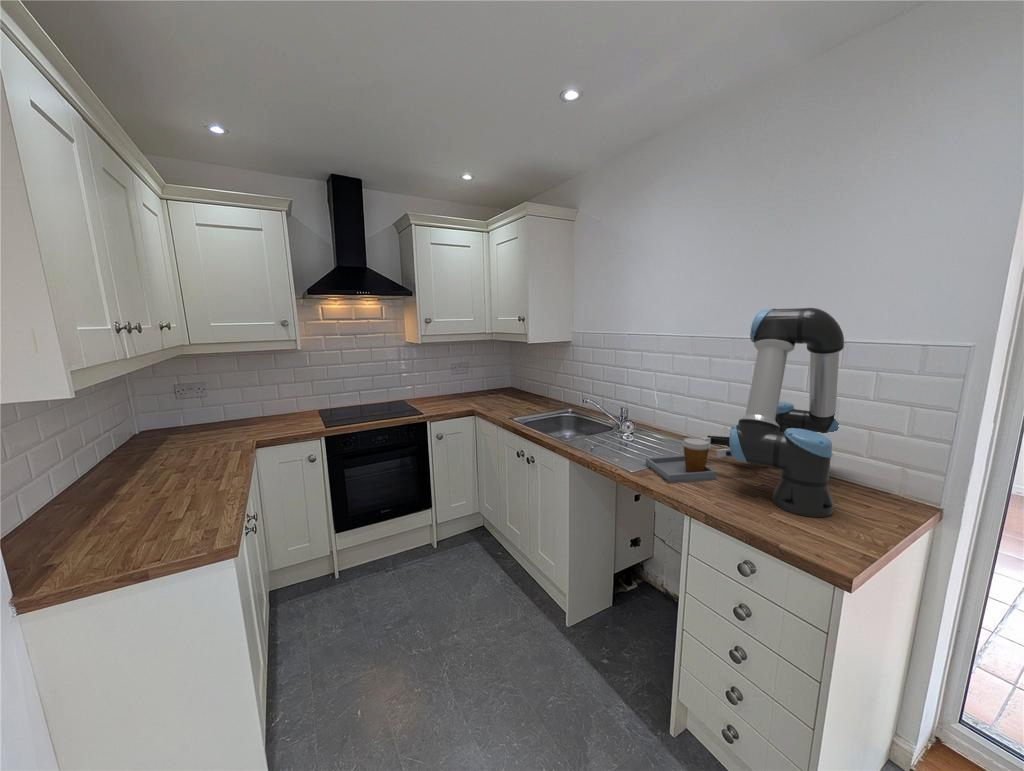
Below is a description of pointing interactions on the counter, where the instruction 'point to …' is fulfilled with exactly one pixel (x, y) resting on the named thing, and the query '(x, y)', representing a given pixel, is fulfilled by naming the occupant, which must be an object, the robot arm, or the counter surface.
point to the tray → (677, 470)
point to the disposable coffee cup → (695, 454)
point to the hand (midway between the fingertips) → (705, 447)
